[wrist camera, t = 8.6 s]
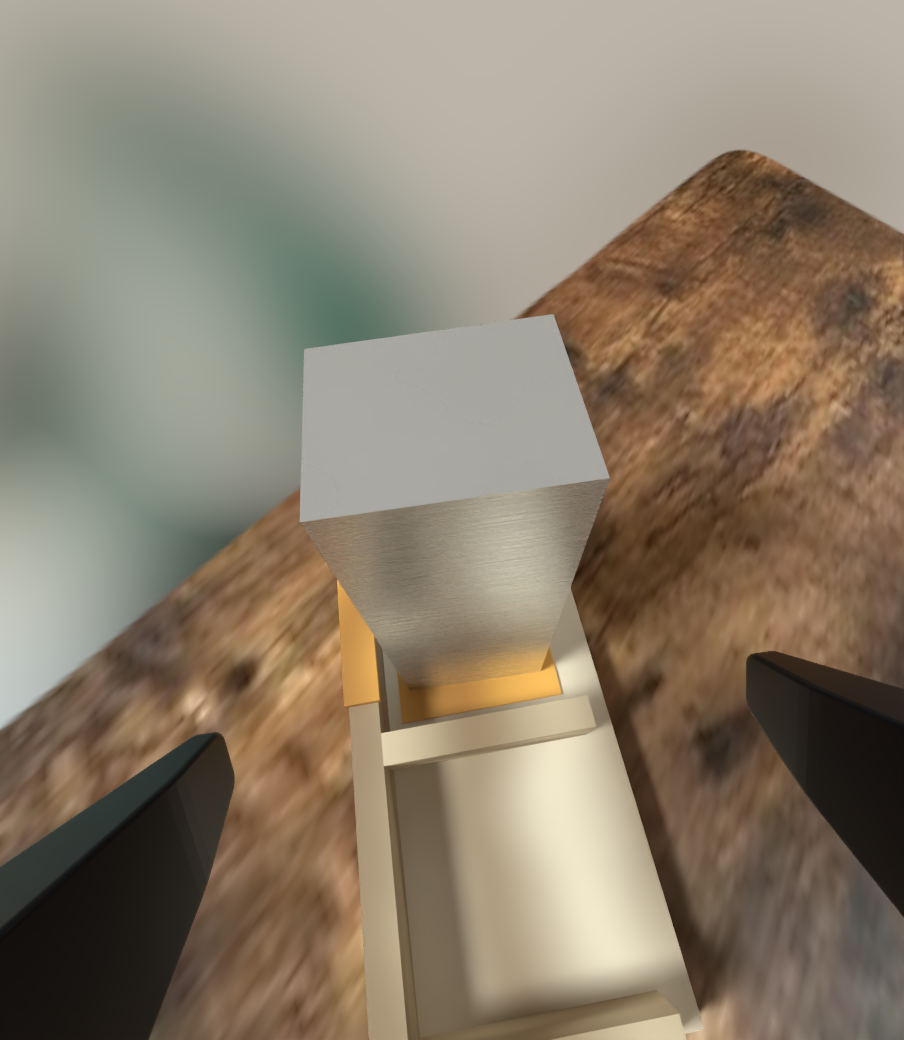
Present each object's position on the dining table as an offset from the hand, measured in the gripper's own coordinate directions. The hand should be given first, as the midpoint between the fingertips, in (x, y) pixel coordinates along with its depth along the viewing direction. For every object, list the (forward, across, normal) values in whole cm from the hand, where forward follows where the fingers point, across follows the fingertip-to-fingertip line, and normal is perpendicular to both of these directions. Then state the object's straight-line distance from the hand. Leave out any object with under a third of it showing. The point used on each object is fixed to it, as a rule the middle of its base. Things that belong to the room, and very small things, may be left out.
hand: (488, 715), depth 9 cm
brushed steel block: (+11, 0, +4) cm, 12 cm away
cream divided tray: (+9, 0, +8) cm, 12 cm away
